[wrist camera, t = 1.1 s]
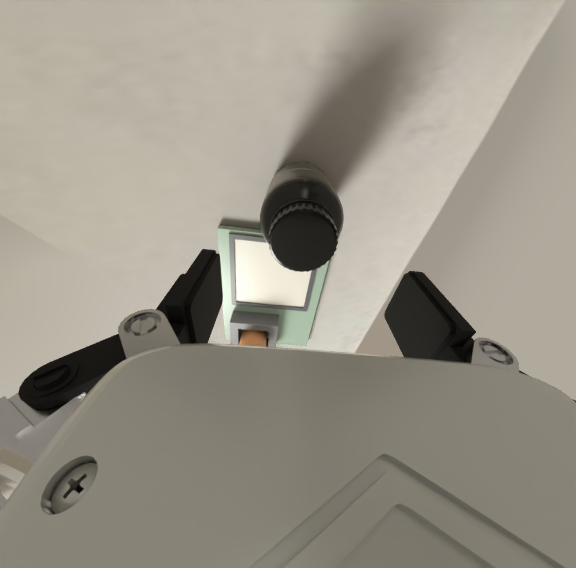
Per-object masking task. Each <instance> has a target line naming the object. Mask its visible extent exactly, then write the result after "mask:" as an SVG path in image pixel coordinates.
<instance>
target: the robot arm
mask: <svg viewBox="0 0 576 568" xmlns="http://www.w3.org/2000/svg"><path fill="white" fill-rule="evenodd" d="M222 302H223V290H222V276H221V263H220V254H216V251H215V250H207V249H202V251H201V252H200V253H199V255H198V256H197V258H196V259H195V261H194V262H193V264H192V265H191V267H190V268H189V270H188V271H187V273H186V274H181V275H180V276H179V278H178V279H177V280H176V282H175V283H174V285H173V286H172V288H171V289H170V290H169V292H168V293H167V295H166V296H165V297H164V299H163V300H162V302H161V303H160V304H159V306H158V307H157V309H156V310H153V309H148V310H141V311H138V312H135V313H133V314H131V315H129V316H128V317H126V318H125V319H124V320H123V321H122V322H121V323H120V325H119V327H118V332H119V334H117V335H114V336H112V337H110V338H107V339H105V340H102V341H100V342H97V343H95V344H93V345H90V346H88V347H86V348H83V349H81V350H78V351H76V352H73V353H71V354H68V355H66V356H64V357H61V358H59V359H57V360H54V361H52V362H49V363H47V364H46V365H43V366H42V367H40V368H38V369H37V370H36V371H34V372H33V373H31V374H30V375H29V376H28V377H27V378H26V379H25V380H24V382H23V383H22V385H21V386H20V389H19V393H17V394H15V395H14V396H12V397H11V398H9V399H7V398H6V397H5V396H4V397H2V398H0V568H576V401H575V400H573V399H571V398H570V397H569V396H567V395H566V394H565V393H563V392H562V391H560V390H559V389H557V388H555V387H553V386H551V385H549V384H547V383H545V382H543V381H541V380H538V379H536V378H533V377H531V376H529V375H527V374H525V373H523V372H521V371H519V363H518V361H517V359H516V357H515V356H514V355H513V354H512V353H511V352H510V351H509V350H508V349H507V348H505V347H504V346H503V345H501V344H499V343H497V342H495V341H493V340H490V339H487V338H477V339H475V340H473V339H472V338H471V337H472V336H473V335H474V334H475V333H476V331H475V330H474V329H473V328H472V327H471V325H469V323H468V322H467V321H466V320H465V319H464V318H463V317H462V315H461V314H460V313H459V312H458V311H457V310H456V309H455V308H454V306H452V304H451V303H450V302H449V301H448V300H447V299H446V298H445V297H444V295H443V294H442V293H441V292H440V291H439V290H438V289H437V288H436V286H435V285H434V284H433V283H432V282H431V281H430V280H429V279H428V278H427V276H426V275H425V274H424V273H422V272H415V271H409V272H408V273H406V274H405V275H404V276H403V278H402V280H401V282H400V284H399V286H398V288H397V290H396V291H395V293H394V295H393V297H392V299H391V301H390V303H389V305H388V307H387V309H386V311H385V319H386V321H387V323H388V325H389V327H390V329H391V331H392V333H393V335H394V337H395V339H396V341H397V344H398V346H399V348H400V350H401V352H402V354H403V356H404V357H395V356H383V355H371V354H370V355H369V354H358V353H345V352H332V351H319V350H306V349H292V348H278V347H264V346H249V345H234V344H208V340H209V338H210V335H211V332H212V329H213V327H214V324H215V321H216V319H217V316H218V313H219V310H220V308H221V305H222ZM86 475H87V476H86Z"/></svg>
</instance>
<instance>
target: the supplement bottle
mask: <svg viewBox="0 0 576 568" xmlns="http://www.w3.org/2000/svg"><path fill="white" fill-rule="evenodd" d="M343 220H344V215H343V208H342V205H341V202H340V200H339V197H338V196H337V194H336V192H335V191H334V189H333V187H332V186H331V184H330V182H329V181H328V179H327V177H326V176H325V175H324V173H323V172H322V171H321V170H320V169H319V168H317V167H316V166H314V165H312V164H309V163H304V162H296V163H292V164H289V165H287V166H285V167H283V168H282V169H281V170H279V171H278V173H277V174H276V175H275V176H274V178H273V179H272V181H271V184H270V186H269V189H268V191H267V194H266V197H265V199H264V202H263V205H262V208H261V213H260V226H261V231H262V234H263V236H264V238H265V240H266V242H267V243H268V244H269V249H270V250H271V254H272V255H273V256H274V259H275V260H276V261H278V263H279V264H280V265H282V266H283V267H284V268H288V269H289V270H294V271H300V272H304V271H306V272H309V271H311V270H315V269H317V268H320V267H321V266H322V265H325V264H326V262H327V261H329V260H330V259H331V257H332V256H333V255H334V252H335V250H336V246H337V244H338V241H337V239H338V237H339V235H340V233H341V230H342V227H343Z"/></svg>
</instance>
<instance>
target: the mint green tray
mask: <svg viewBox="0 0 576 568" xmlns="http://www.w3.org/2000/svg"><path fill="white" fill-rule="evenodd" d="M217 235H218V248H219V254H220V263H221V276H222V290H223V314H224V328H225V340H231V344H234V345H239V342H240V338H241V333H242V330H243V329H246V330H258V331H267V341H266V347H276V344H288V345H300V346H307V342H308V338H309V335H310V331H311V327H312V323H313V320H314V316H315V312H316V308H317V305H318V301H319V297H320V293H321V289H322V286H323V282H324V278H325V274H326V271H327V267H328V263H329V261H327V262H326V264H325V265H322V266H321V267H320V268H317V269H315V270H311V271H309V272H306V271H304V272H300V271H294V270H289V269H288V268H284V267H283V266H282V265H280V264H279V263H278V261H276V260H275V259H274V256H273V255H272V254H271V250H270V249H269V244H268V243H267V242H266V240H265V238H264V236H263V234H262V231H261V230H258V229H249V228H241V227H232V226H223V225H219V226H218V228H217Z"/></svg>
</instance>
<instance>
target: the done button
mask: <svg viewBox="0 0 576 568" xmlns="http://www.w3.org/2000/svg"><path fill="white" fill-rule="evenodd" d="M266 341H267V331H258V330H246V329H243V330H242V333H241V338H240V342H239V345H249V346H264V347H266Z"/></svg>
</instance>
